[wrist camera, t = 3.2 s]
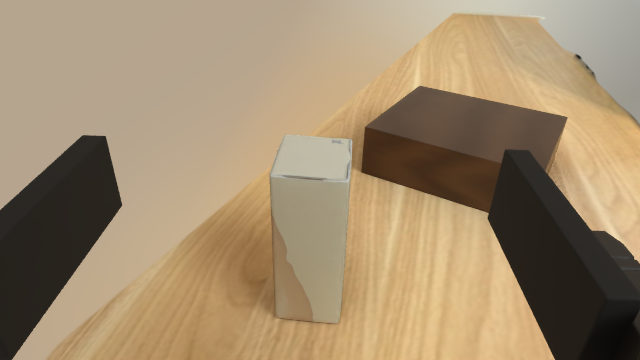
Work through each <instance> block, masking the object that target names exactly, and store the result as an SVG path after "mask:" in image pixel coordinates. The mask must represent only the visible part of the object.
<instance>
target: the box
mask: <svg viewBox="0 0 640 360" xmlns="http://www.w3.org/2000/svg"><path fill="white" fill-rule="evenodd" d="M351 161H352V139H343V138H327V137H314V136H302V135H285V136H284V137H283V140H282V142H281V144H280V146H279V149H278V151H277V154H276V157H275V160H274V163H273V166H272V169H271V172H270V195H271V221H272V245H273V273H274V296H275V316H276V317H277V318H284V319H292V320H302V321H311V322H322V323H333V324H337V323H339V320H340V313H341V304H342V291H343V280H344V268H345V255H346V239H347V226H348V213H349V197H350V179H351Z"/></svg>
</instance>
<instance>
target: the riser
mask: <svg viewBox="0 0 640 360" xmlns="http://www.w3.org/2000/svg"><path fill="white" fill-rule="evenodd" d="M566 121H567V117H565V116H560V115H555V114H551V113H546V112H541V111H536V110H532V109H527V108H522V107H517V106H513V105H508V104H503V103H499V102H494V101H489V100H484V99H480V98H475V97H470V96H465V95H461V94H456V93H451V92H447V91H442V90H437V89H432V88H428V87H423V86H419V87H417V88H416V89H415V90H413V91H412V92H411V93H409V94H408V95H407V96H405V97H404V98H403V99H401V100H400V101H399V102H397V103H396V104H395V105H393V106H392V107H391V108H389V109H388V110H387V111H385V112H384V113H383V114H381V115H380V116H379V117H377V118H376V119H375V120H373V121H372V122H371V123H369V124H368V125H367V126H366V127H365V135H364V147H363V160H362V172H363V173H366V174H369V175H373V176H376V177H379V178H382V179H385V180H388V181H392V182H395V183H398V184H401V185H404V186H407V187H410V188H414V189H417V190H420V191H423V192H426V193H429V194H432V195H436V196H439V197H442V198H445V199H448V200H451V201H455V202H458V203H461V204H464V205H467V206H470V207H473V208H477V209H480V210H483V211H486V212H489V211H490V207H491V203H492V199H493V195H494V191H495V187H496V183H497V179H498V175H499V171H500V167H501V163H502V159H503V155H504V151H505V149H513V150H529V151H530V152H531V154H532V155H533V156H534V158H535V159H536V160H537V161H538V163H539V164H540V165H541V167H542V168H543V169H544V170H545V172H546V173H547V174H548V173H549V171H550V168H551V166H552V163H553V161H554V158H555V155H556V152H557V149H558V145H559V142H560V139H561V136H562V133H563V130H564V127H565V124H566Z"/></svg>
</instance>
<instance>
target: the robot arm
mask: <svg viewBox="0 0 640 360" xmlns="http://www.w3.org/2000/svg"><path fill="white" fill-rule="evenodd" d="M121 206H122V202H121V198H120V194H119V191H118V186H117V182H116V178H115V173H114V169H113V165H112V161H111V157H110V153H109V148H108V144H107V140H106V136H87V135H83V136H81V137H80V138H79V139H78V140H77V141H76V142H75V143H74V144H73V145H72V146H70V147H69V148H68V149H67V150H66V151H65V152H64V153H63V154H62V155H61V156H59V157H58V158H57V159H56V160H55V161H54V162H53V163H52V164H51V165H49V166H48V167H47V168H46V169H45V170H44V171H43V172H42V173H41V174H40V175H38V176H37V177H36V178H35V179H34V180H33V181H32V182H31V183H30V184H29V185H27V186H26V187H25V188H24V189H23V190H22V191H21V192H20V193H19V194H18V195H16V196H15V197H14V198H13V199H12V200H11V201H10V202H9V203H8V204H7V205H5V206H4V207H3V208H2V209H1V210H0V360H12V359H13V357H14V356H15V355H16V353H17V352H18V350H19V349H20V348H21V346H22V345H23V343H24V342H25V340H26V339H27V337H28V336H29V335H30V333H31V332H32V331H33V329H34V328H35V327H36V325H37V324H38V322H39V321H40V320H41V318H42V317H43V315H44V314H45V313H46V311H47V310H48V308H49V307H50V305H51V304H52V303H53V301H54V300H55V299H56V297H57V296H58V294H59V293H60V292H61V290H62V289H63V287H64V286H65V285H66V283H67V282H68V280H69V279H70V278H71V276H72V275H73V273H74V272H75V271H76V269H77V268H78V266H79V265H80V263H81V262H82V260H83V259H84V258H85V257H86V255H87V254H88V252H89V251H90V250H91V248H92V247H93V245H94V244H95V243H96V241H97V240H98V238H99V237H100V236H101V234H102V233H103V231H104V230H105V229H106V227H107V226H108V224H109V223H110V222H111V220H112V219H113V217H114V216H115V215H116V213H117V212H118V210H119V209H120V208H121ZM488 220H489V222H490V225H491V227H492V229H493V231H494V233H495V235H496V237H497V239H498V241H499V243H500V245H501V248H502V250H503V252H504V254H505V256H506V258H507V260H508V262H509V264H510V266H511V268H512V271H513V273H514V275H515V277H516V279H517V281H518V283H519V285H520V287H521V289H522V291H523V294H524V296H525V298H526V300H527V302H528V304H529V306H530V308H531V310H532V312H533V315H534V317H535V319H536V321H537V323H538V325H539V327H540V329H541V331H542V333H543V335H544V338H545V340H546V342H547V344H548V346H549V348H550V350H551V352H552V354H553V356H554V358H555V360H640V264H639V262H638V261H637V260H634V256H633V255H632V254H631V253H630V252H629V250H628V249H627V248H626V247H625V246H624V244H623V243H621V242H620V241H618V240H617V239H615V238H614V237H613V236H611V235H610V234H608V233H607V232H605V231H591V230H590V228H589V227H588V226H587V224H586V223H585V222H584V221H583V219H582V218H581V217H580V215H579V214H578V213H577V212H576V210H575V209H574V208H573V206H572V205H571V204H570V203H569V201H568V200H567V199H566V197H565V196H564V195H563V194H562V192H561V191H560V190H559V188H558V187H557V186H556V185H555V183H554V182H553V181H552V179H551V178H550V177H549V176H548V174H547V173H546V172H545V170H544V169H543V168H542V167H541V165H540V164H539V163H538V161H537V160H536V159H535V158H534V156H533V155H532V154H531V152H530V151H529V150H513V149H505V151H504V155H503V159H502V163H501V167H500V171H499V175H498V179H497V183H496V187H495V191H494V195H493V199H492V203H491V207H490V211H489V215H488Z"/></svg>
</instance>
